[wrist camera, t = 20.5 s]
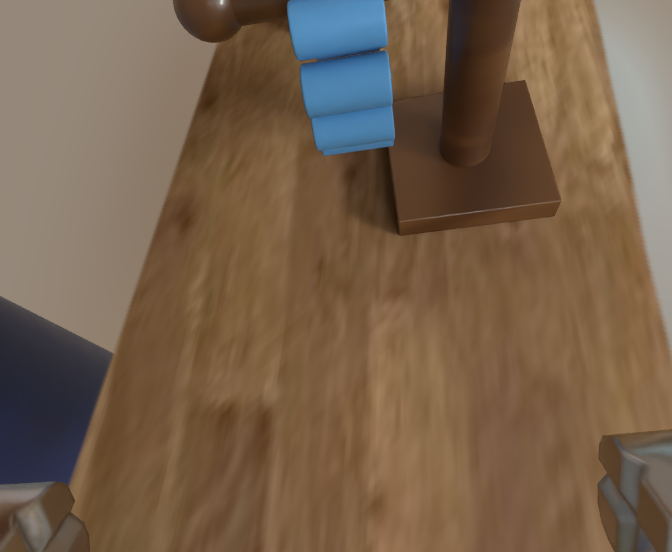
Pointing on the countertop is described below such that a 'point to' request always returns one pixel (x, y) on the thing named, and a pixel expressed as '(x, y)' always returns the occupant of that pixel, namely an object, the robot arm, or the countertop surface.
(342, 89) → the blue cylinder bundle
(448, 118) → the tape stand
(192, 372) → the countertop surface
